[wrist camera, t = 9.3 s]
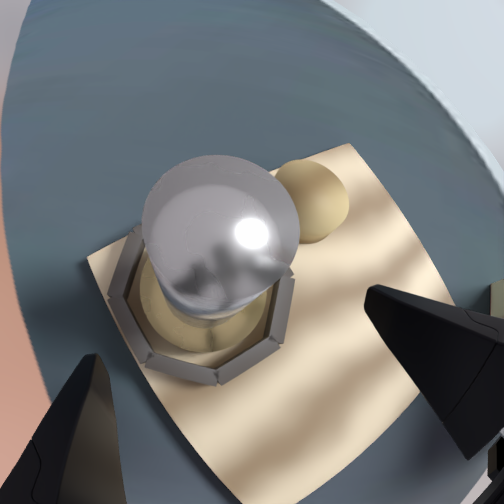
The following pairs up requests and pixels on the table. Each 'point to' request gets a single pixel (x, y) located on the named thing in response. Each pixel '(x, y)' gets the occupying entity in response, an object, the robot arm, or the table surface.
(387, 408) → the board
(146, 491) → the table surface
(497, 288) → the gift box
